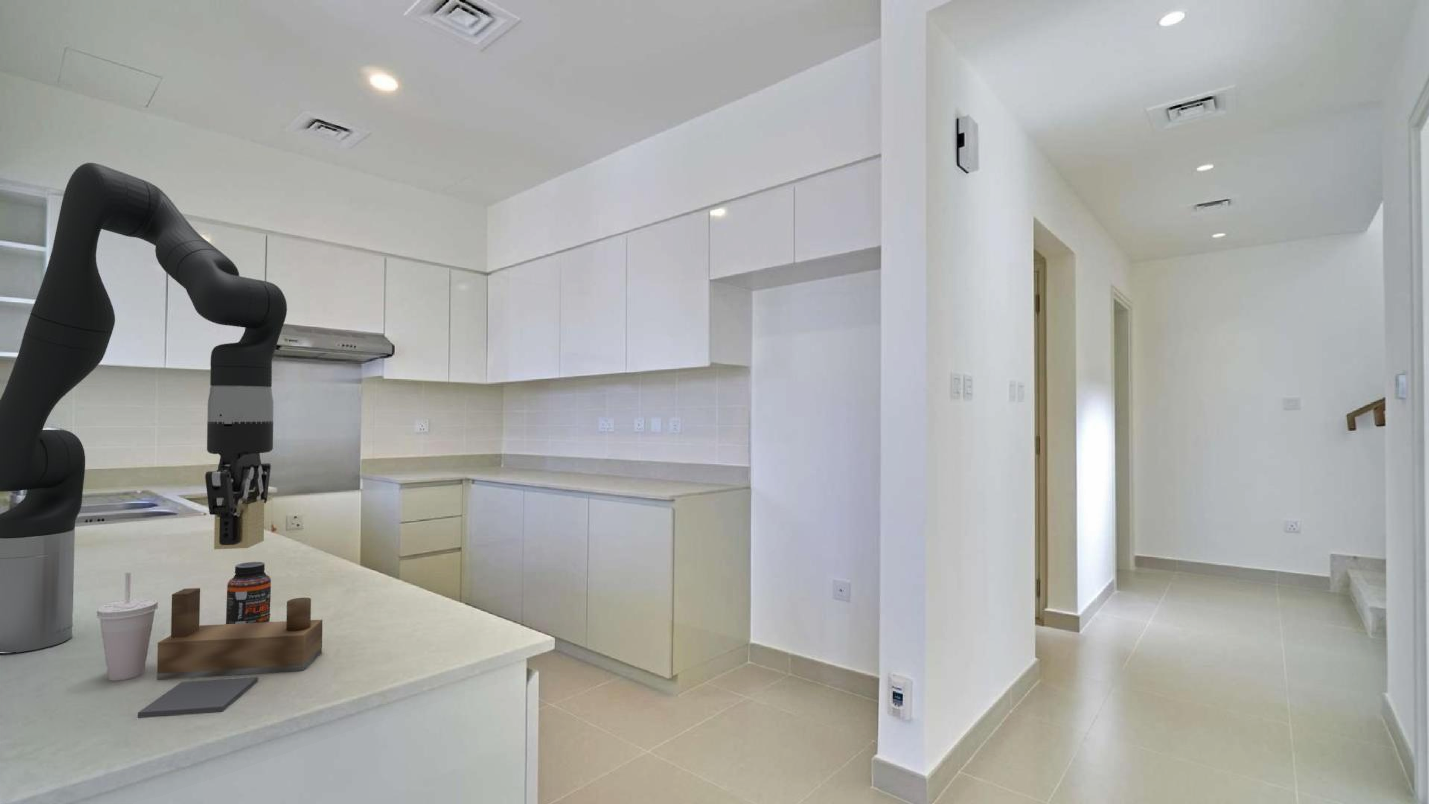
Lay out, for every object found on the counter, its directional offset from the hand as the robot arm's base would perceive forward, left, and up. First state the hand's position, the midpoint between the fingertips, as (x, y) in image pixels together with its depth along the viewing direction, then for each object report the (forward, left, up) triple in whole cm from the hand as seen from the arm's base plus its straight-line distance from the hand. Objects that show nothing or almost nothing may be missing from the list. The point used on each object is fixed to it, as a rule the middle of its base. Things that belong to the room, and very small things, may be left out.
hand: (239, 539), depth 92 cm
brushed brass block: (0, 0, -1) cm, 1 cm away
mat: (-1, -8, -19) cm, 20 cm away
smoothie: (-15, +2, -19) cm, 24 cm away
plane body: (-1, +3, -19) cm, 19 cm away
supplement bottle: (-7, +18, -19) cm, 27 cm away
